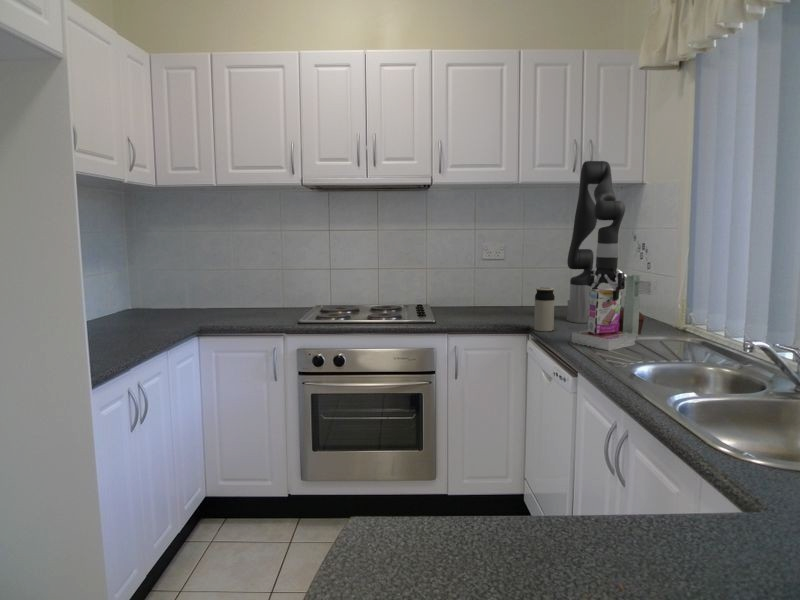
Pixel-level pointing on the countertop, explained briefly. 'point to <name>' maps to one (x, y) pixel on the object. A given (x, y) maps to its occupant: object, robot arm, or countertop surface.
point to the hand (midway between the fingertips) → (604, 299)
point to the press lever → (644, 285)
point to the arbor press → (629, 323)
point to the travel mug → (544, 309)
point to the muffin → (638, 325)
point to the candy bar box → (603, 312)
